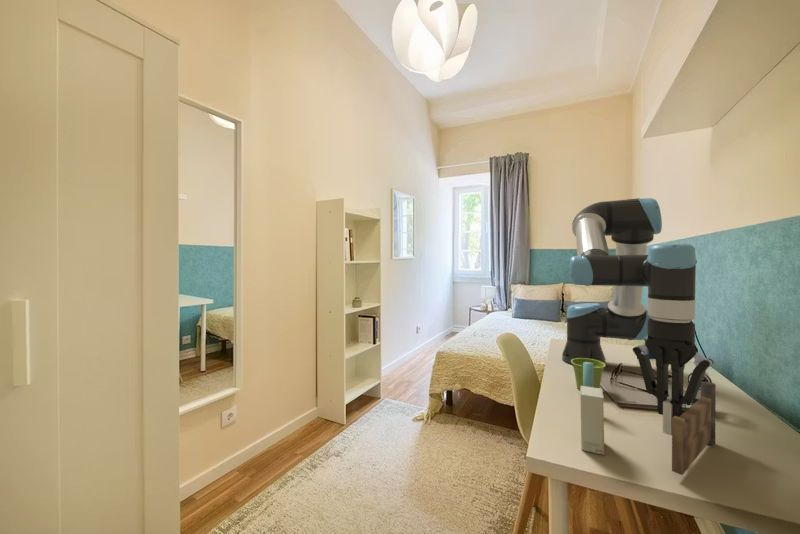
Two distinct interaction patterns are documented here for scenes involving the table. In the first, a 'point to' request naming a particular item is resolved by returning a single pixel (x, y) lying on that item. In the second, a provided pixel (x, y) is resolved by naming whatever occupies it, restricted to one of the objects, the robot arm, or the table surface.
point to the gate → (694, 429)
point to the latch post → (588, 374)
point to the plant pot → (597, 371)
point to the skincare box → (592, 419)
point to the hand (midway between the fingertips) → (669, 431)
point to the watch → (705, 379)
